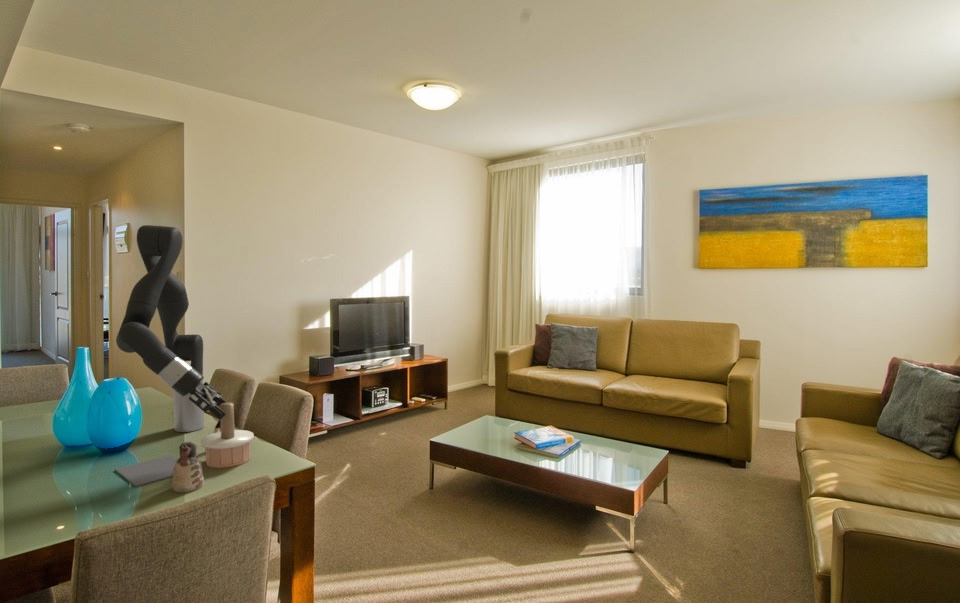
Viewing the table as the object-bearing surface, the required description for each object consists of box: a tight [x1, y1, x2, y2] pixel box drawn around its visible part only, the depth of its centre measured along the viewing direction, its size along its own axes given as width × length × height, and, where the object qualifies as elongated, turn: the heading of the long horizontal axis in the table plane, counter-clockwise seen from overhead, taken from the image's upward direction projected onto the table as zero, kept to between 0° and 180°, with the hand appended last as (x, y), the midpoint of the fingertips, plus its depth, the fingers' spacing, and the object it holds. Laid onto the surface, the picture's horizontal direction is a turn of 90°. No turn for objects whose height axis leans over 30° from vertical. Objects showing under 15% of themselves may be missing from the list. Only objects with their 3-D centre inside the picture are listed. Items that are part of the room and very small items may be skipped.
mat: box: [114, 454, 178, 488], centre depth 146 cm, size 17×14×1 cm
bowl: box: [204, 442, 251, 469], centre depth 154 cm, size 12×12×6 cm
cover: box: [200, 401, 255, 449], centre depth 153 cm, size 14×14×11 cm
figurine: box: [171, 441, 205, 494], centre depth 135 cm, size 7×7×12 cm
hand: (226, 412), depth 153 cm, fingers open, 8 cm apart
